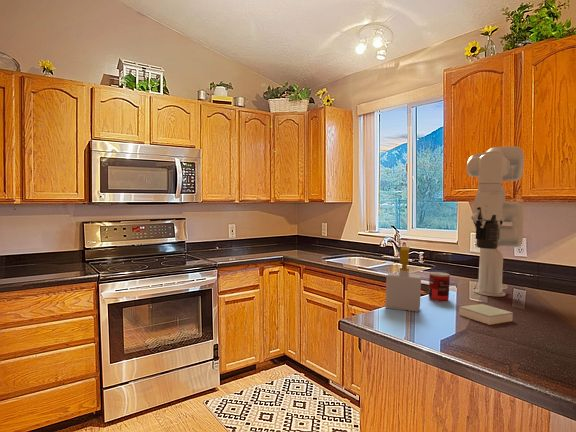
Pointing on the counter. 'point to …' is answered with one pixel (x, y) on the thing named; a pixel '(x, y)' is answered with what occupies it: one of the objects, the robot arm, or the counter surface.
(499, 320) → the plate
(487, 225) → the supplement bottle
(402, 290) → the soap bottle
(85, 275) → the counter surface
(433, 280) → the canned food
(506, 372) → the counter surface
